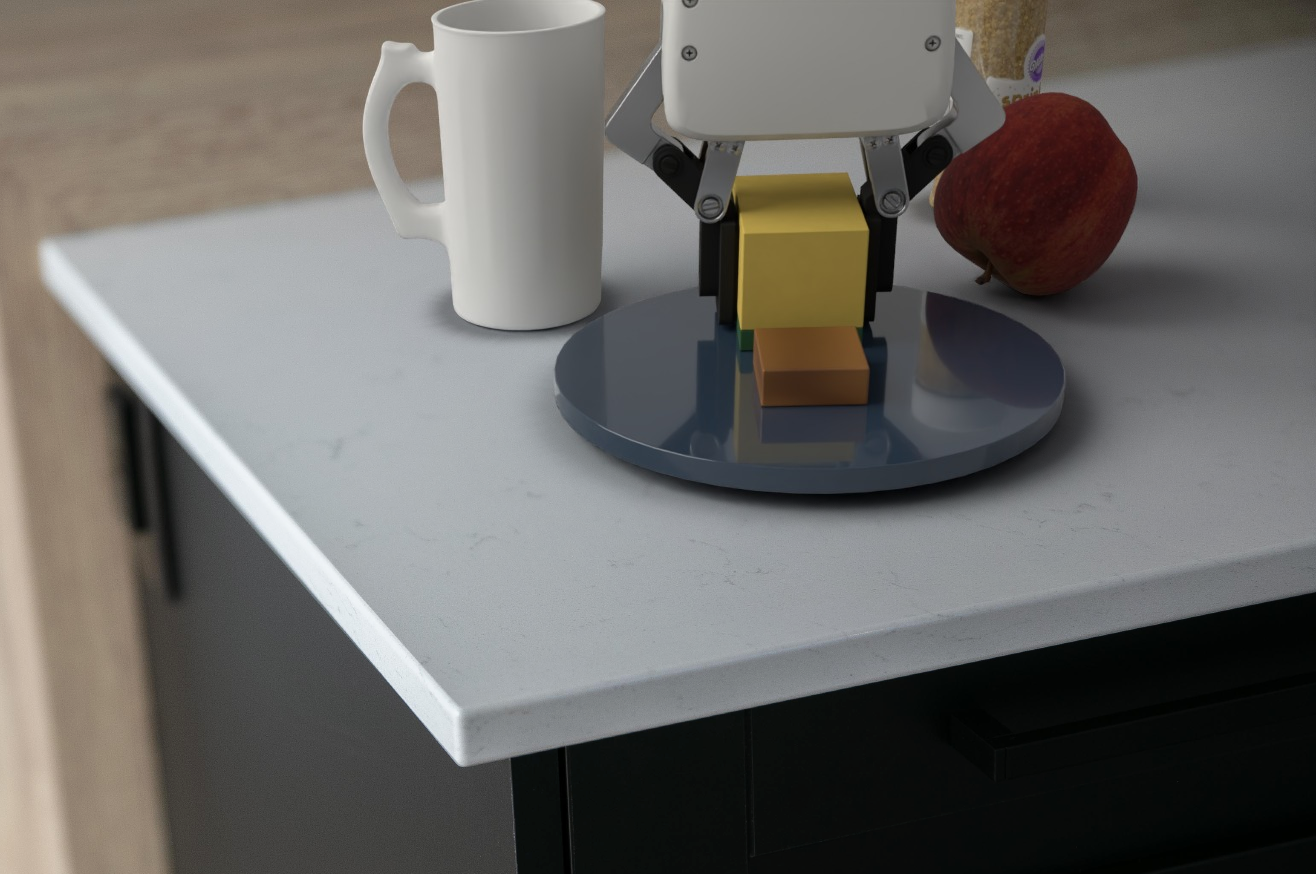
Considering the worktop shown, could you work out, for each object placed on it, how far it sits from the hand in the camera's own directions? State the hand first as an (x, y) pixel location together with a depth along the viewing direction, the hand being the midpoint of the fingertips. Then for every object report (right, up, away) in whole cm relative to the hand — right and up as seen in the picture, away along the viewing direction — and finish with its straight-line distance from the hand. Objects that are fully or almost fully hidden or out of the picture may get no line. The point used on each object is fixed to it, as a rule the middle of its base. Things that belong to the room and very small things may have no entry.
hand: (792, 306), depth 71 cm
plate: (0, -4, -3) cm, 5 cm away
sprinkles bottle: (+12, +7, +15) cm, 20 cm away
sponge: (0, 0, 0) cm, 0 cm away
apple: (+11, +1, +5) cm, 12 cm away
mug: (-11, +1, +8) cm, 14 cm away
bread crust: (-1, -4, -6) cm, 7 cm away
